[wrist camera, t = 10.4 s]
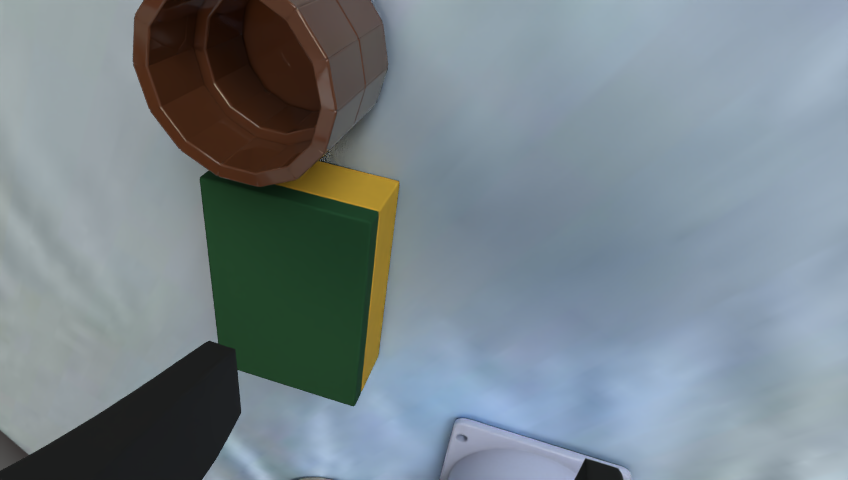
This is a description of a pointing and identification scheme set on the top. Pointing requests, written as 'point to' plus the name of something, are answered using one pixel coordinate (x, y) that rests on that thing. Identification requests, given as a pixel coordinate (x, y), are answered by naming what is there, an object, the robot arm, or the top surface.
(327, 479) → the mug
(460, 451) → the robot arm
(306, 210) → the sponge
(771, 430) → the top surface
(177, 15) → the brown hollow cylinder
